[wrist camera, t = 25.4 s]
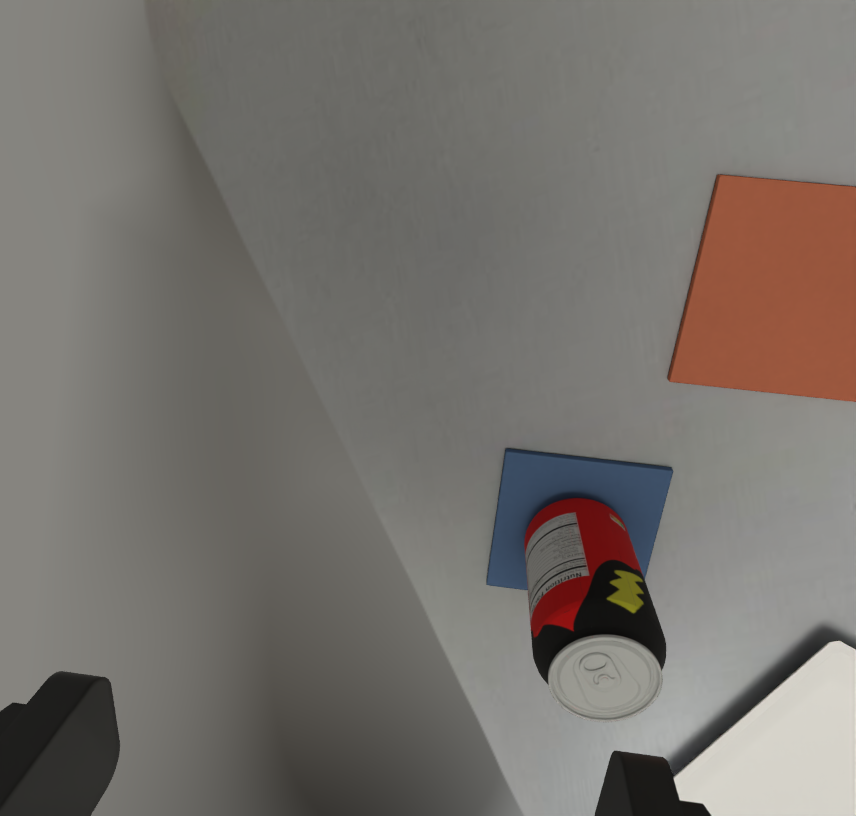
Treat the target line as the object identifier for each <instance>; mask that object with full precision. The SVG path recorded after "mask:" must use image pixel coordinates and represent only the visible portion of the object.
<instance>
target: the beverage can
mask: <svg viewBox="0 0 856 816" xmlns="http://www.w3.org/2000/svg"><path fill="white" fill-rule="evenodd" d="M524 547H525V560H526V572H527V585H528V598H529V610H530V623H531V636H532V648H533V657H534V661H535V664H536V666H537V669H538V671H539V673H540V675H541V676H542V678H543V679H544V680H545V681H546V683H547V684H548V685H549V688H550V691H551V694H552V696H553V698H554V699H555V700H556V702H557V703H558V704H559V705H560V706H561V707H562V708H563V709H565V710H566V711H568V712H569V713H571V714H573V715H575V716H577V717H580V718H583V719H586V720H590V721H597V722H613V721H620V720H624V719H627V718H630V717H633V716H635V715H637V714H639V713H641V712H642V711H644V710H645V709H647V708H648V707H649V706H650V705H651V704H652V703H653V702H654V701H655V700H656V698H657V697H658V695H659V693H660V690H661V687H662V681H663V678H662V669H663V666H664V664H665V659H666V642H665V638H664V634H663V631H662V629H661V626H660V623H659V620H658V617H657V614H656V611H655V608H654V606H653V603H652V600H651V597H650V594H649V591H648V588H647V585H646V583H645V580H644V577H643V574H642V571H641V568H640V565H639V562H638V560H637V557H636V554H635V551H634V548H633V545H632V542H631V539H630V537H629V534H628V531H627V528H626V526H625V524H624V522H623V520H622V519H621V518H620V517H619V516H618V514H617V513H615V512H614V511H613V510H612V509H611V508H609V507H608V506H606V505H604V504H602V503H600V502H598V501H595V500H591V499H585V498H570V499H564V500H560V501H557V502H554V503H552V504H550V505H548V506H547V507H545V508H544V509H542V510H541V511H540V512H539V513H538V514H537V515H536V516H535V517H534V518H533V519H532V521H531V523H530V524H529V526H528V529H527V531H526V535H525V541H524Z"/></svg>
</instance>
